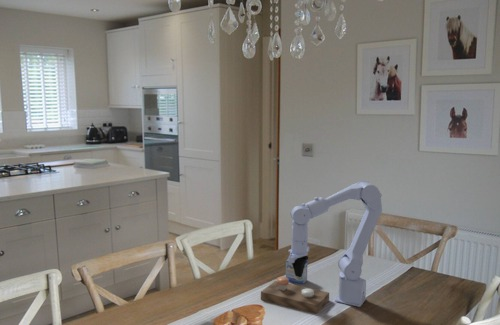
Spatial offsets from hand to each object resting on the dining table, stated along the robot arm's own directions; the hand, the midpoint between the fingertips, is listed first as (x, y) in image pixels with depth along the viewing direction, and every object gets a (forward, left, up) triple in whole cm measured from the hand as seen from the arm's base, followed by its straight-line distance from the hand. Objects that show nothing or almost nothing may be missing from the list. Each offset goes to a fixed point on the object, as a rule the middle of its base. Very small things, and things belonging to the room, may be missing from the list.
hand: (298, 275), depth 159 cm
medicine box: (+8, -17, -10) cm, 21 cm away
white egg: (-4, 0, -9) cm, 10 cm away
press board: (+1, 0, -10) cm, 10 cm away
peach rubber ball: (+6, 0, -6) cm, 9 cm away
